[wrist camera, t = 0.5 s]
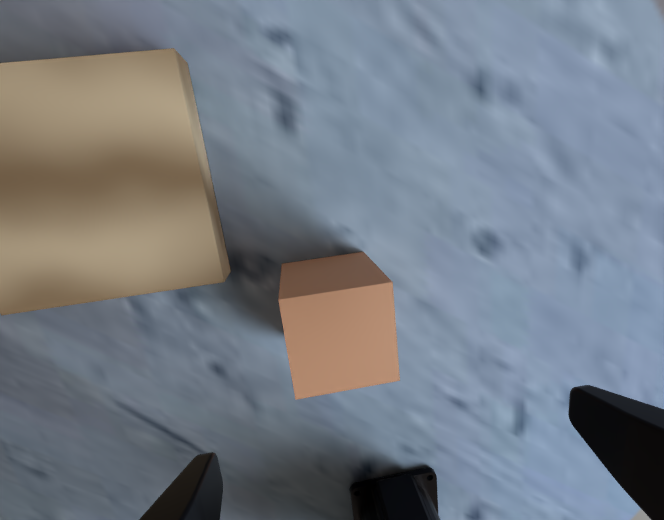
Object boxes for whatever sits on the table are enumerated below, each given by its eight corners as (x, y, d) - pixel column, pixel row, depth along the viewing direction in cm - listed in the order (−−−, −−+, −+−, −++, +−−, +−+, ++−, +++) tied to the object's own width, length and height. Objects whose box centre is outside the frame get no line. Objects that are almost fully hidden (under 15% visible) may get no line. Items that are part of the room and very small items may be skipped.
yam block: (370, 325, 22) (399, 380, 16) (294, 338, 21) (295, 399, 15) (363, 251, 20) (392, 281, 14) (281, 263, 20) (278, 299, 14)
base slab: (230, 271, 19) (224, 282, 17) (31, 300, 18) (1, 315, 16) (187, 63, 17) (174, 48, 15) (-52, 84, 16) (-101, 71, 14)
